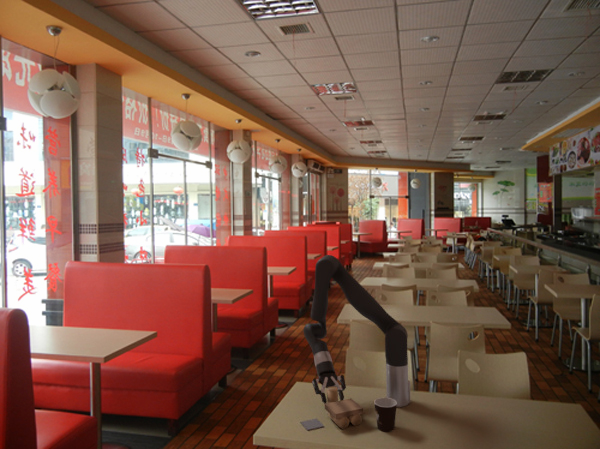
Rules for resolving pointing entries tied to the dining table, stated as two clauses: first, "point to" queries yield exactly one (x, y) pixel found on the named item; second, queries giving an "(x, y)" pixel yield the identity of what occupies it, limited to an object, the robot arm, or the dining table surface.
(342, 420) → the slab
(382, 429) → the coffee mug
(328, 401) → the roller
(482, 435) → the dining table surface
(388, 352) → the robot arm
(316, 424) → the mat
